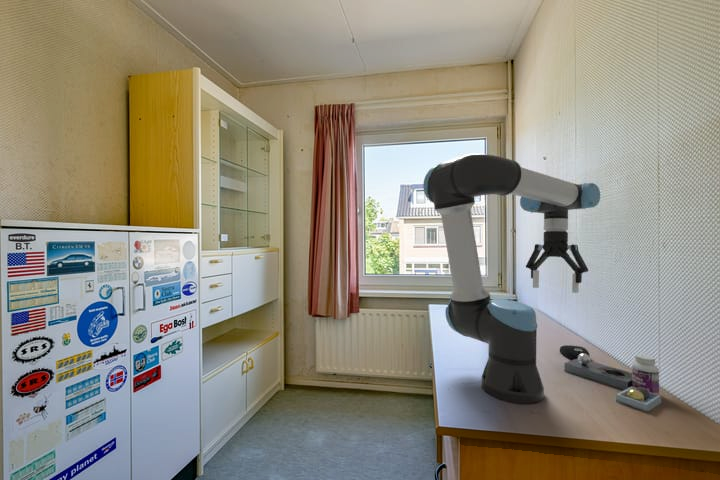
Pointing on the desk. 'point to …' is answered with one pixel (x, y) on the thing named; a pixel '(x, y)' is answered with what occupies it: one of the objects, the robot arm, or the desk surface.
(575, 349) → the computer mouse
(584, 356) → the steel ball
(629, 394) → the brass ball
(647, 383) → the pill bottle
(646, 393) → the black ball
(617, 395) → the parts tray
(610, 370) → the block
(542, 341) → the desk surface
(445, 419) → the desk surface
